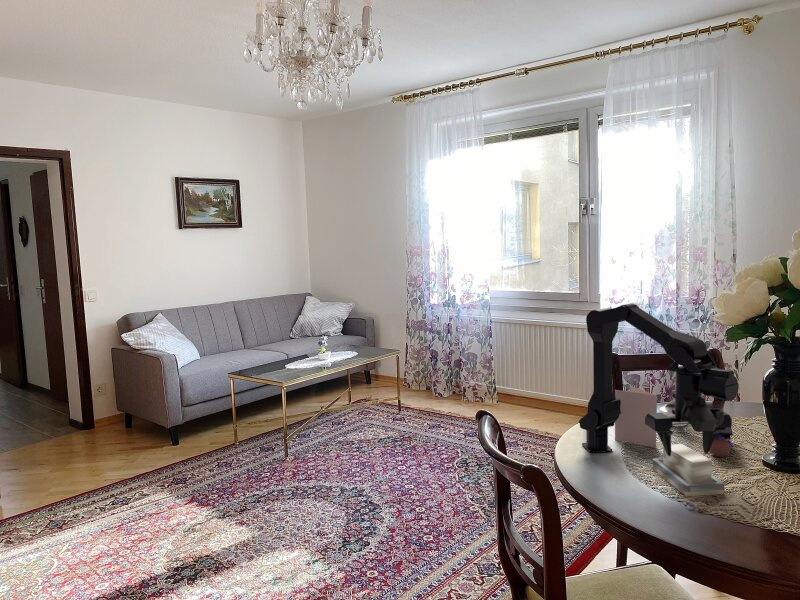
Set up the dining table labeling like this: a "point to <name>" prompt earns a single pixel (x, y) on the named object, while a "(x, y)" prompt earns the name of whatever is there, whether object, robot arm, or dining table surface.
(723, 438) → the figurine character
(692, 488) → the jig board
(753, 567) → the dining table surface
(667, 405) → the inkwell
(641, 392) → the greeting card
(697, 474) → the block
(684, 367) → the robot arm
